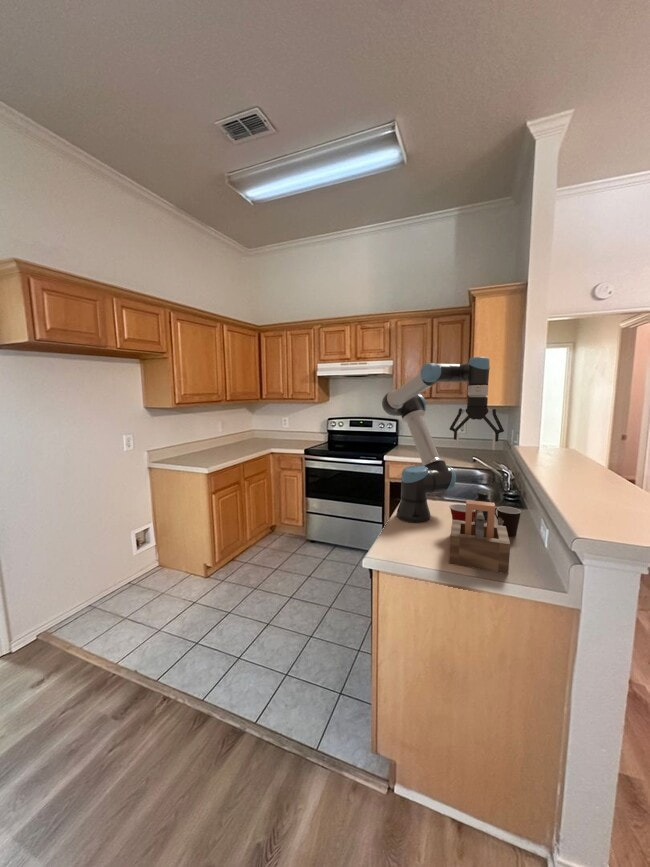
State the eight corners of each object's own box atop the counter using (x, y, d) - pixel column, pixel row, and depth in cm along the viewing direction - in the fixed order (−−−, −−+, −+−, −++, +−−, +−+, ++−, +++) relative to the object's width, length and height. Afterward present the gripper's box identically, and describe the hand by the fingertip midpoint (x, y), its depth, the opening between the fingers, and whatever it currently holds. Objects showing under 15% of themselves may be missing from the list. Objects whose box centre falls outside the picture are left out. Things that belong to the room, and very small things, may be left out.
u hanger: (464, 535, 127) (466, 499, 125) (492, 538, 123) (494, 502, 122) (464, 539, 123) (466, 503, 121) (493, 543, 120) (495, 506, 118)
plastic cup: (475, 531, 147) (477, 503, 146) (477, 542, 137) (479, 512, 135) (447, 528, 151) (449, 501, 149) (447, 538, 140) (449, 509, 139)
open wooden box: (451, 544, 135) (453, 499, 133) (504, 552, 128) (507, 504, 126) (449, 563, 120) (451, 512, 118) (508, 573, 113) (511, 520, 111)
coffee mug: (522, 538, 140) (524, 514, 139) (498, 536, 142) (500, 512, 141) (513, 527, 151) (514, 504, 150) (491, 525, 153) (492, 503, 152)
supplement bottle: (470, 515, 166) (471, 490, 164) (484, 515, 166) (486, 490, 165) (478, 520, 159) (479, 495, 158) (492, 520, 160) (494, 494, 158)
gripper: (444, 396, 143) (442, 448, 146) (513, 396, 134) (510, 451, 137) (445, 396, 150) (443, 445, 153) (511, 396, 141) (508, 448, 144)
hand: (475, 448), depth 145 cm, fingers open, 13 cm apart
